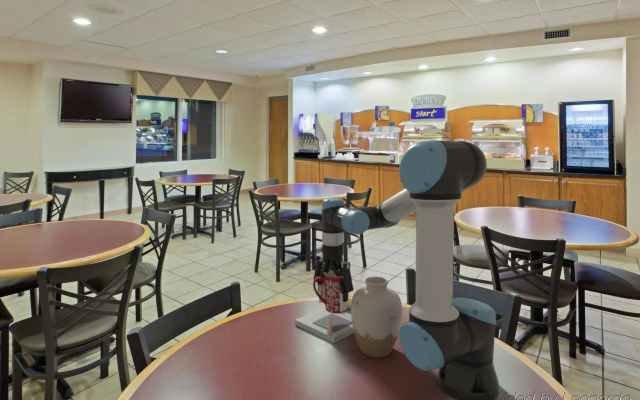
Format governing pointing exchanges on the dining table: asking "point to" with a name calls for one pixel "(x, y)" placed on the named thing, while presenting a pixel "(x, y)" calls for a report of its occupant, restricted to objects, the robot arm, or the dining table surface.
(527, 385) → the dining table surface
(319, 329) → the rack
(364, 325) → the white ceramic vase
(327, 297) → the mug
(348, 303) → the tan rectangular block
